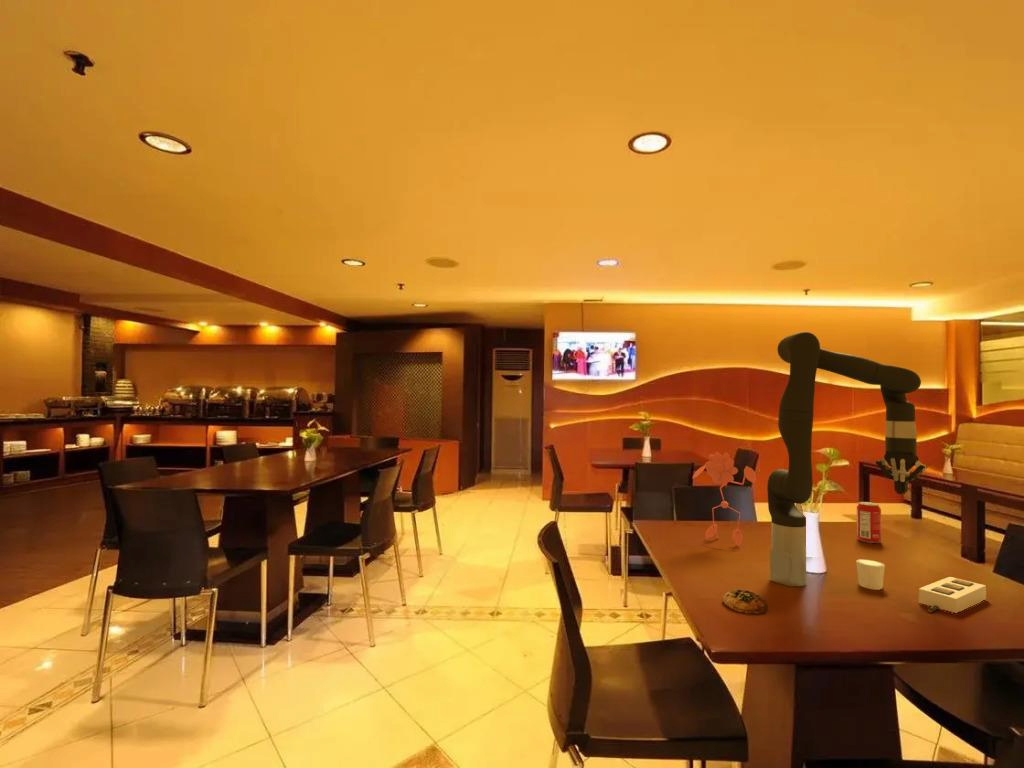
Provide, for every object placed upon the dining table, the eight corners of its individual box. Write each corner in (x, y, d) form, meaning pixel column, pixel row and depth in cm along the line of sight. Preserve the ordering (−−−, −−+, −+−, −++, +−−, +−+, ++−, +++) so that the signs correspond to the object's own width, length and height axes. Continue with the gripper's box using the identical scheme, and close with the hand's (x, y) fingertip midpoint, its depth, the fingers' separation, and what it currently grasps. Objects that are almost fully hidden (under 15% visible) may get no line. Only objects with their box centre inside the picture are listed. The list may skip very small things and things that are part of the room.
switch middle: (958, 598, 135) (958, 589, 135) (941, 593, 138) (941, 584, 139) (963, 595, 137) (963, 586, 137) (947, 591, 140) (947, 582, 140)
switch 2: (968, 593, 139) (968, 585, 139) (951, 589, 142) (951, 581, 142) (973, 591, 140) (973, 582, 141) (956, 587, 144) (956, 578, 144)
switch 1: (948, 602, 132) (948, 593, 132) (931, 598, 135) (931, 589, 135) (954, 600, 134) (953, 591, 134) (937, 595, 137) (937, 586, 137)
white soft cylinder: (878, 583, 151) (878, 560, 151) (889, 591, 145) (889, 567, 145) (852, 581, 153) (852, 557, 153) (861, 588, 146) (861, 564, 147)
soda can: (859, 542, 196) (859, 504, 197) (854, 538, 203) (854, 500, 204) (884, 545, 193) (883, 506, 194) (878, 540, 200) (877, 502, 201)
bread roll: (777, 609, 131) (775, 590, 131) (750, 624, 125) (748, 604, 125) (740, 596, 140) (737, 578, 140) (713, 609, 135) (711, 590, 135)
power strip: (948, 618, 127) (948, 602, 127) (911, 606, 134) (911, 591, 134) (986, 600, 139) (985, 585, 140) (949, 590, 146) (949, 576, 146)
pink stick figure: (699, 533, 206) (698, 448, 206) (763, 548, 186) (763, 453, 187) (678, 540, 196) (677, 450, 197) (744, 557, 176) (743, 457, 177)
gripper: (869, 435, 156) (870, 491, 155) (921, 438, 144) (922, 498, 144) (881, 434, 160) (882, 489, 159) (932, 437, 148) (933, 496, 148)
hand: (901, 493), depth 151 cm, fingers closed
